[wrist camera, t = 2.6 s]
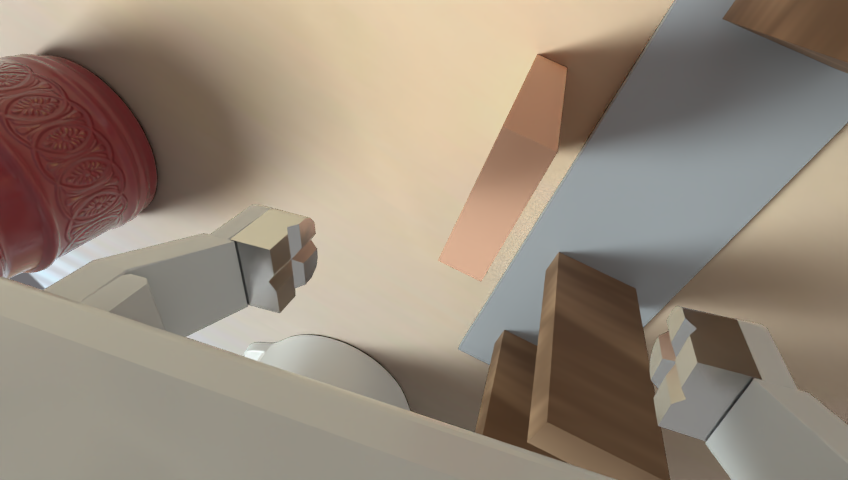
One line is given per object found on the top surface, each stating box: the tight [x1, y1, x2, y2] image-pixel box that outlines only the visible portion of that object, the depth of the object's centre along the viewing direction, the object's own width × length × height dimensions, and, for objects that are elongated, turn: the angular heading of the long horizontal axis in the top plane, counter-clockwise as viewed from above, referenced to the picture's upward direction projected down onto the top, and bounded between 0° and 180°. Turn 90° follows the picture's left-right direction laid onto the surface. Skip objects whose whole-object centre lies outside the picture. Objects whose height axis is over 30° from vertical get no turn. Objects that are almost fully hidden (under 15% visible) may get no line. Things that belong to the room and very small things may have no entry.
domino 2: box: [475, 330, 567, 463], centre depth 26 cm, size 2×5×12 cm, turn 70°
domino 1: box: [438, 54, 567, 281], centre depth 18 cm, size 2×5×12 cm, turn 160°
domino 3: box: [527, 252, 670, 480], centre depth 21 cm, size 2×5×12 cm, turn 70°
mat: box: [458, 0, 848, 365], centre depth 22 cm, size 36×9×1 cm, turn 160°
